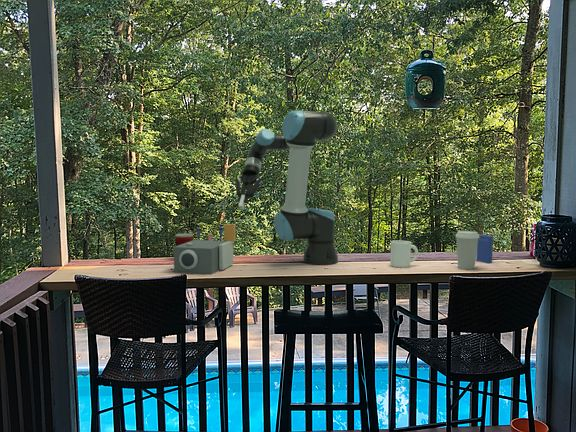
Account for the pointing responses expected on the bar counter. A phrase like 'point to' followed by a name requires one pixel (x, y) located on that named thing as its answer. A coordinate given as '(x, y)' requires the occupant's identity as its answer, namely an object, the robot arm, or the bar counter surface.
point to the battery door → (227, 246)
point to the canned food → (183, 238)
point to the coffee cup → (466, 249)
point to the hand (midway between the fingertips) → (240, 207)
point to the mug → (402, 253)
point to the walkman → (484, 249)
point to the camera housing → (197, 257)
